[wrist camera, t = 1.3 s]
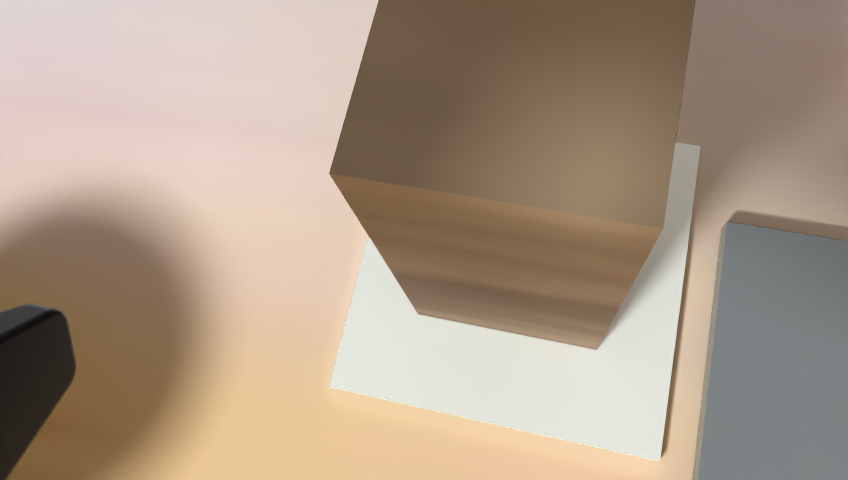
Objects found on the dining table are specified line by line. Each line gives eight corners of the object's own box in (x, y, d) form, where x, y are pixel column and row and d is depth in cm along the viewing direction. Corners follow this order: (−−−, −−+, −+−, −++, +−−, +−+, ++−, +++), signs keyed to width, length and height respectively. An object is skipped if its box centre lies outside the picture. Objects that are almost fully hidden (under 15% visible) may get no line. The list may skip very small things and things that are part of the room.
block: (596, 350, 20) (663, 229, 10) (418, 314, 21) (329, 173, 11) (618, 213, 21) (697, -9, 11) (448, 185, 22) (390, -41, 12)
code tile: (658, 461, 19) (660, 461, 19) (331, 387, 21) (328, 386, 20) (698, 150, 21) (701, 145, 21) (404, 107, 23) (403, 103, 23)
